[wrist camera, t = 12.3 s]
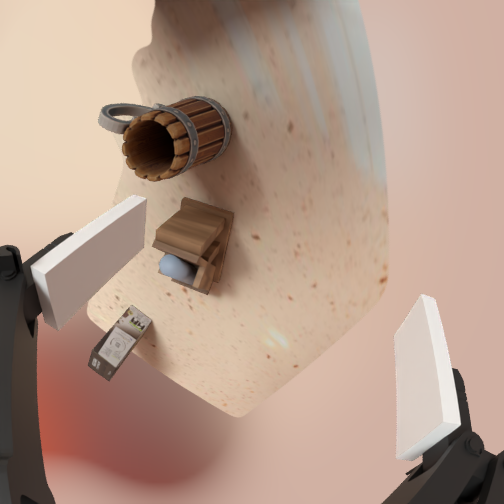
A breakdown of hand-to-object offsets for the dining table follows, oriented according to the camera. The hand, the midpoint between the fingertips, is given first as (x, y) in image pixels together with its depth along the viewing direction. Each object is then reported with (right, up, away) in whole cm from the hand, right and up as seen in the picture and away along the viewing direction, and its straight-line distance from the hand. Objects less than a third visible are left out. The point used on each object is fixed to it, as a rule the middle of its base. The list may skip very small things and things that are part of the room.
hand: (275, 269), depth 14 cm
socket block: (-10, +3, +43) cm, 44 cm away
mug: (-11, +21, +33) cm, 41 cm away
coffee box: (-29, -16, +61) cm, 69 cm away
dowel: (-12, -4, +44) cm, 46 cm away
